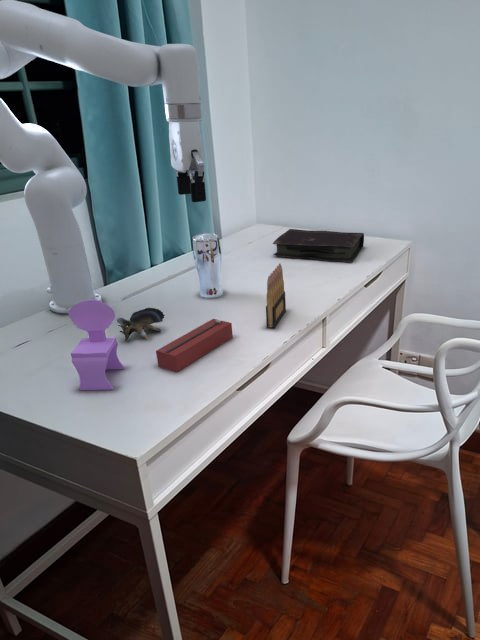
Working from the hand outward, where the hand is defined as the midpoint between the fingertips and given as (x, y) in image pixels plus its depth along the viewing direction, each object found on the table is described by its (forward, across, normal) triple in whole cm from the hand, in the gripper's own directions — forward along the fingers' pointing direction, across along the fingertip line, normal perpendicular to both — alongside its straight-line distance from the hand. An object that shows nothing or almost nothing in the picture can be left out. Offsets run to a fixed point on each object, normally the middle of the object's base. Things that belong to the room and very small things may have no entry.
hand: (191, 197), depth 122 cm
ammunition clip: (+26, +18, +12) cm, 33 cm away
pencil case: (+26, +25, -10) cm, 37 cm away
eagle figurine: (+26, +12, -18) cm, 34 cm away
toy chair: (+26, +27, -29) cm, 48 cm away
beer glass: (+26, -6, +4) cm, 27 cm away
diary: (+26, -24, +47) cm, 59 cm away
